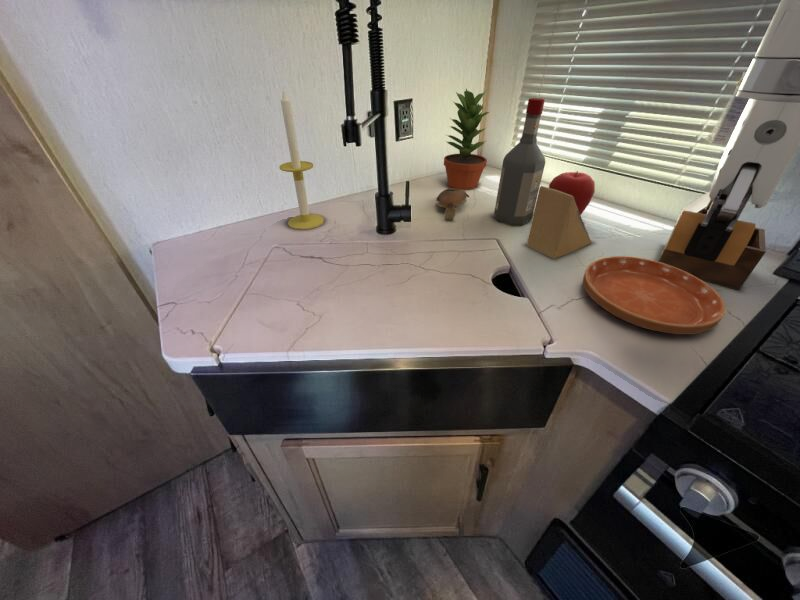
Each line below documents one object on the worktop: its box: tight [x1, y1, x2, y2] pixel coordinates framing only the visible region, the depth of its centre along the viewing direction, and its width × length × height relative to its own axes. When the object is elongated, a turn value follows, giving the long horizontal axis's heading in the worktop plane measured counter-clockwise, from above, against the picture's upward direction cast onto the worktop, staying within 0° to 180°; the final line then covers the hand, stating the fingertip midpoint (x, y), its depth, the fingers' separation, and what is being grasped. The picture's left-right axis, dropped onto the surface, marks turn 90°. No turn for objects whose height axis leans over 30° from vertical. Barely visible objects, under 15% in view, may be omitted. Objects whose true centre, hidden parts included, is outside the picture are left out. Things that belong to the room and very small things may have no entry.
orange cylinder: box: [665, 210, 756, 266], centre depth 43 cm, size 7×4×4 cm, turn 51°
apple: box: [548, 170, 596, 216], centre depth 97 cm, size 12×12×13 cm
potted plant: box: [443, 87, 490, 191], centre depth 115 cm, size 15×15×30 cm
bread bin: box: [657, 227, 767, 291], centre depth 76 cm, size 15×13×9 cm
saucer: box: [582, 255, 726, 335], centre depth 67 cm, size 23×23×4 cm
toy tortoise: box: [435, 187, 470, 221], centre depth 105 cm, size 20×5×10 cm
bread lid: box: [673, 190, 710, 229], centre depth 71 cm, size 16×13×5 cm
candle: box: [278, 87, 325, 230], centre depth 89 cm, size 10×10×32 cm
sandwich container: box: [526, 185, 593, 259], centre depth 83 cm, size 9×15×15 cm, turn 123°
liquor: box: [493, 97, 546, 227], centre depth 91 cm, size 9×9×30 cm
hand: (701, 248), depth 44 cm, fingers closed on orange cylinder, 4 cm apart
